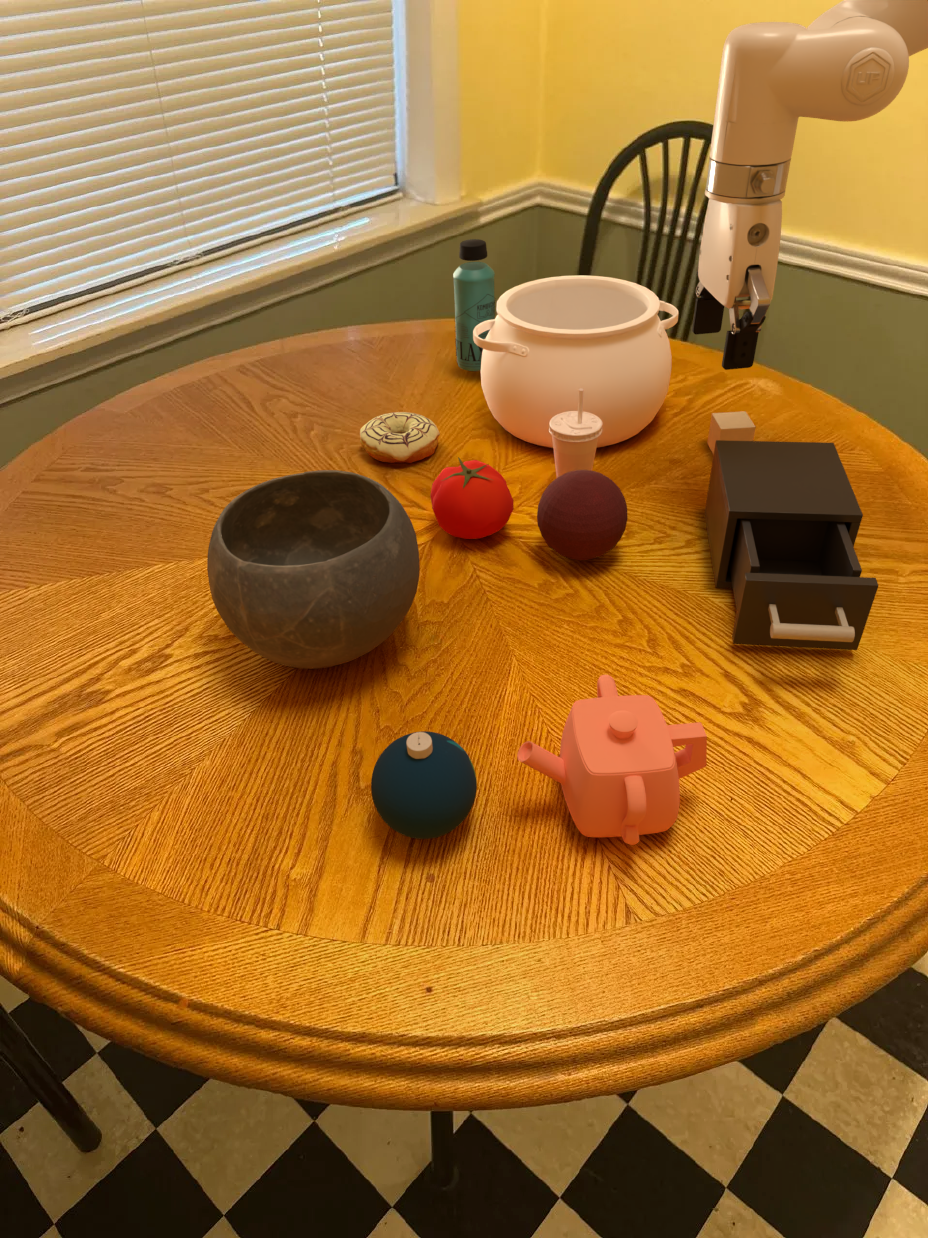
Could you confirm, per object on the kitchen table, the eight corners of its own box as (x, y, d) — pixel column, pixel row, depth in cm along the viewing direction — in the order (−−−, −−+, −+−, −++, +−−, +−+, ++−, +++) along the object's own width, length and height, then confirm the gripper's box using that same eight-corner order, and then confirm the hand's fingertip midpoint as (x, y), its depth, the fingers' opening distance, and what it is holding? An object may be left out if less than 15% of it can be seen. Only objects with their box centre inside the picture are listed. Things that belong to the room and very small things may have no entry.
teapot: (512, 806, 72) (510, 727, 65) (601, 728, 78) (607, 648, 72) (626, 890, 65) (636, 810, 59) (713, 797, 71) (730, 716, 65)
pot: (502, 474, 113) (500, 354, 102) (456, 391, 133) (450, 283, 122) (704, 441, 117) (722, 322, 107) (630, 365, 137) (639, 259, 127)
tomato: (456, 500, 109) (452, 440, 103) (529, 520, 104) (529, 459, 99) (416, 538, 102) (410, 477, 97) (492, 561, 98) (490, 498, 93)
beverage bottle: (448, 375, 138) (440, 244, 125) (472, 360, 142) (466, 232, 129) (482, 384, 134) (478, 250, 122) (505, 368, 139) (503, 238, 126)
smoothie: (578, 511, 105) (583, 405, 96) (537, 494, 109) (538, 390, 100) (608, 489, 109) (616, 385, 100) (568, 473, 112) (571, 371, 103)
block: (740, 441, 117) (745, 410, 114) (750, 457, 113) (755, 426, 111) (707, 443, 117) (711, 413, 114) (716, 459, 113) (721, 428, 111)
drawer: (867, 680, 80) (890, 615, 74) (737, 673, 81) (751, 608, 76) (830, 566, 93) (847, 504, 88) (719, 562, 95) (730, 501, 89)
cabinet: (840, 593, 91) (863, 515, 85) (715, 588, 93) (729, 510, 86) (814, 516, 102) (833, 442, 96) (704, 513, 104) (715, 439, 98)
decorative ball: (533, 529, 103) (534, 455, 96) (617, 525, 103) (623, 451, 96) (540, 580, 95) (541, 503, 89) (630, 576, 95) (638, 498, 89)
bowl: (413, 565, 98) (400, 447, 89) (439, 688, 83) (428, 562, 73) (233, 590, 96) (201, 472, 87) (226, 721, 81) (186, 595, 71)
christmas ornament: (483, 855, 68) (478, 773, 62) (377, 865, 68) (361, 783, 61) (474, 773, 74) (469, 691, 68) (377, 782, 74) (363, 700, 68)
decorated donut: (409, 476, 114) (406, 450, 111) (347, 456, 119) (343, 431, 116) (453, 442, 120) (452, 417, 118) (392, 425, 125) (390, 400, 123)
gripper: (823, 197, 77) (785, 379, 88) (751, 155, 90) (726, 317, 101) (741, 204, 76) (714, 386, 87) (681, 161, 90) (664, 323, 101)
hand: (720, 349), depth 94 cm, fingers open, 9 cm apart
